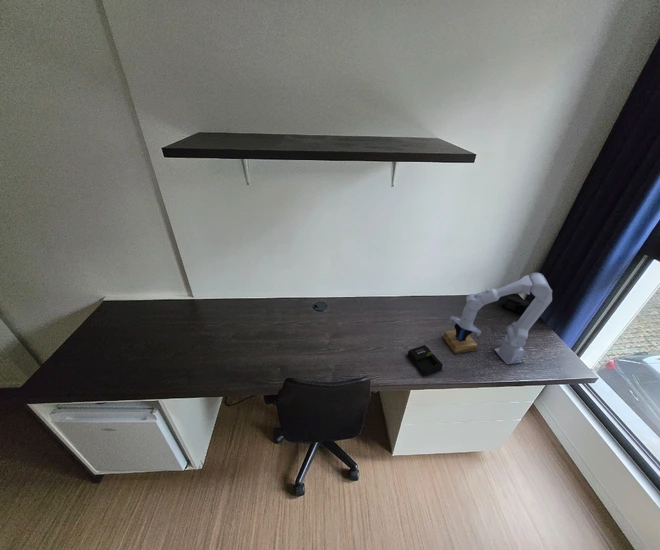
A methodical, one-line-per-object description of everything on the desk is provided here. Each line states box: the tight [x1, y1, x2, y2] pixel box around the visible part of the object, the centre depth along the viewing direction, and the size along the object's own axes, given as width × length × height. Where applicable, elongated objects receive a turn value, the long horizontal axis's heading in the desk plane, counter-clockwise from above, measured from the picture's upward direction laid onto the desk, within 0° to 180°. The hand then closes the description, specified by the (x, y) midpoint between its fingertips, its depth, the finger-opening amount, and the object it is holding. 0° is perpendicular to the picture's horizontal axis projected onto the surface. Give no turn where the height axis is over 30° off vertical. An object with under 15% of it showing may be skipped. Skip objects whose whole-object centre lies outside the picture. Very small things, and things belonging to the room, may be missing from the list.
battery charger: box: [407, 344, 443, 377], centre depth 134 cm, size 13×10×4 cm
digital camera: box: [503, 295, 530, 315], centre depth 168 cm, size 10×5×7 cm, turn 55°
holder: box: [442, 329, 478, 354], centre depth 145 cm, size 11×11×4 cm
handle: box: [457, 328, 466, 341], centre depth 143 cm, size 3×3×9 cm
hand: (460, 337), depth 144 cm, fingers closed on handle, 3 cm apart
